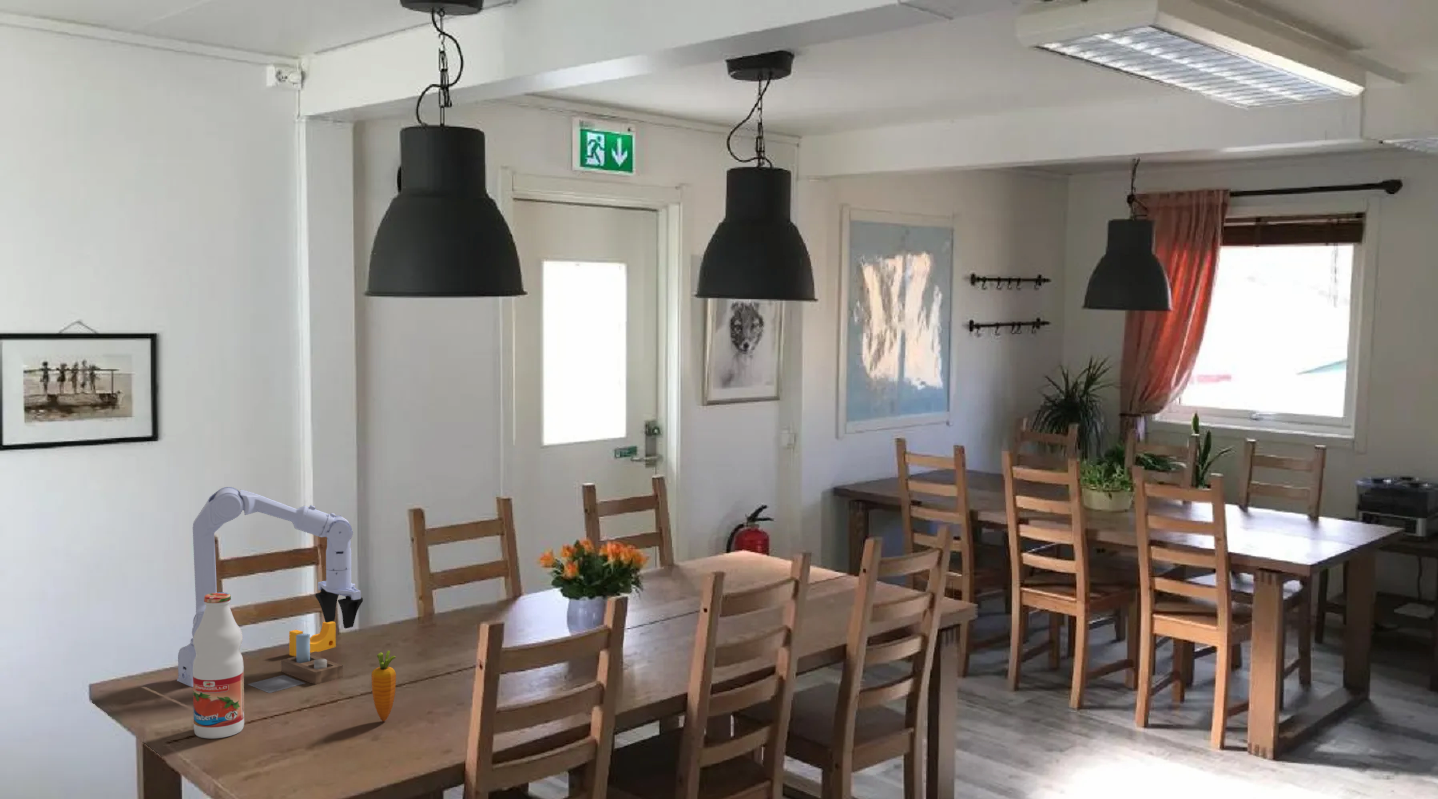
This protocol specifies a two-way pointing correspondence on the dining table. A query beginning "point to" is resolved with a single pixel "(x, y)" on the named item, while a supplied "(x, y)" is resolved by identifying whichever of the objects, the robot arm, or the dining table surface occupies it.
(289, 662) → the hole block
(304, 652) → the dowel
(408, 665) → the dining table surface
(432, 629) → the dining table surface
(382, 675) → the carrot
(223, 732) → the white yogurt drink bottle
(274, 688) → the mat
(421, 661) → the dining table surface
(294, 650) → the pipe clamp
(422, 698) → the dining table surface
